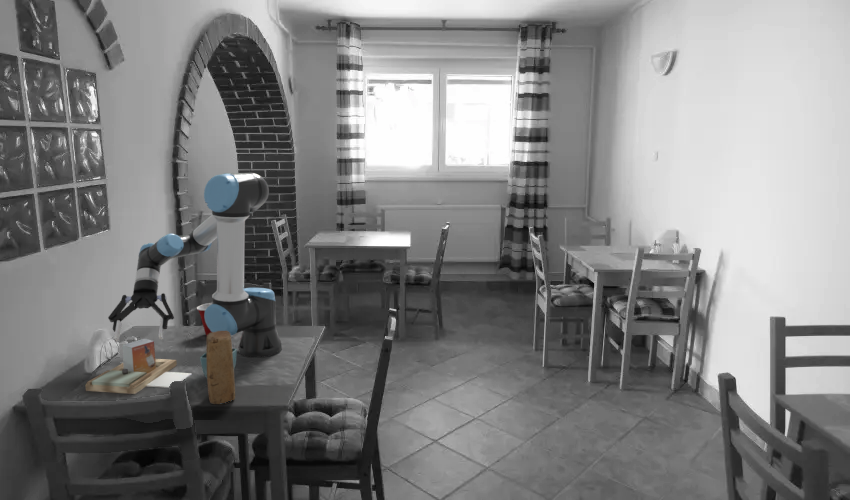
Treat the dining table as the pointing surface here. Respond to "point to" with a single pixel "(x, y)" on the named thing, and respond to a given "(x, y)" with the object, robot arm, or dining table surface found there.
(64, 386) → the dining table surface
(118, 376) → the puzzle board
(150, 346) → the small box
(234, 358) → the flower pot
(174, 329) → the dining table surface
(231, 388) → the block
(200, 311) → the plastic cup
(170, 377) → the white flat panel
